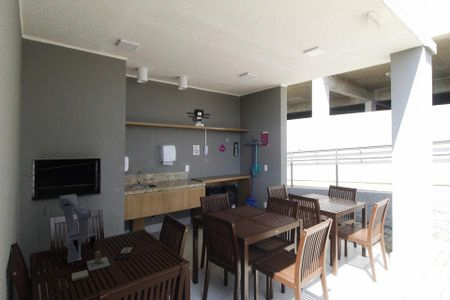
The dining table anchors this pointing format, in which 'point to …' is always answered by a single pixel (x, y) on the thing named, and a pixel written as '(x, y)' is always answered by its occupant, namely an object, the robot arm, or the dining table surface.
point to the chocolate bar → (124, 253)
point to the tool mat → (90, 267)
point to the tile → (79, 275)
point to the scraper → (98, 259)
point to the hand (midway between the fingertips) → (84, 250)
